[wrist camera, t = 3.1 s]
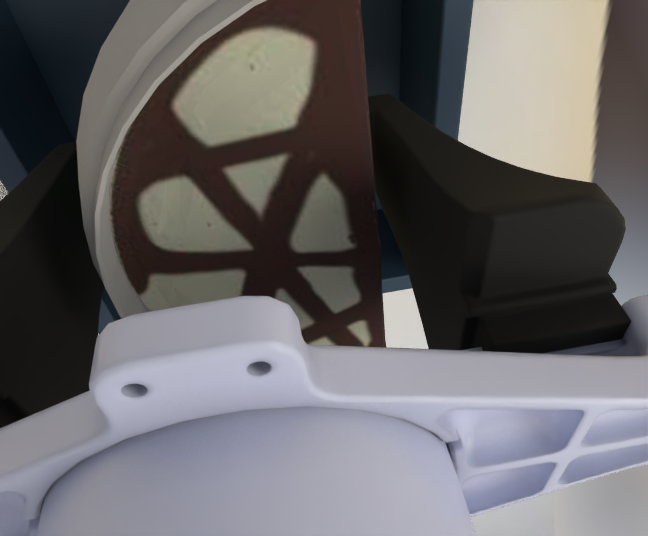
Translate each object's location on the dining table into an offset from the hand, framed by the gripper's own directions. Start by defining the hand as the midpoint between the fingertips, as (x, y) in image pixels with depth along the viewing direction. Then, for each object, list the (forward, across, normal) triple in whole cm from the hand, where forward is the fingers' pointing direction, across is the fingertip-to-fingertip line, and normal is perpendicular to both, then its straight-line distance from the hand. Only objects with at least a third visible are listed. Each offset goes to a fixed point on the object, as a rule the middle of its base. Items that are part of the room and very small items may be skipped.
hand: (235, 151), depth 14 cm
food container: (+5, 0, 0) cm, 5 cm away
